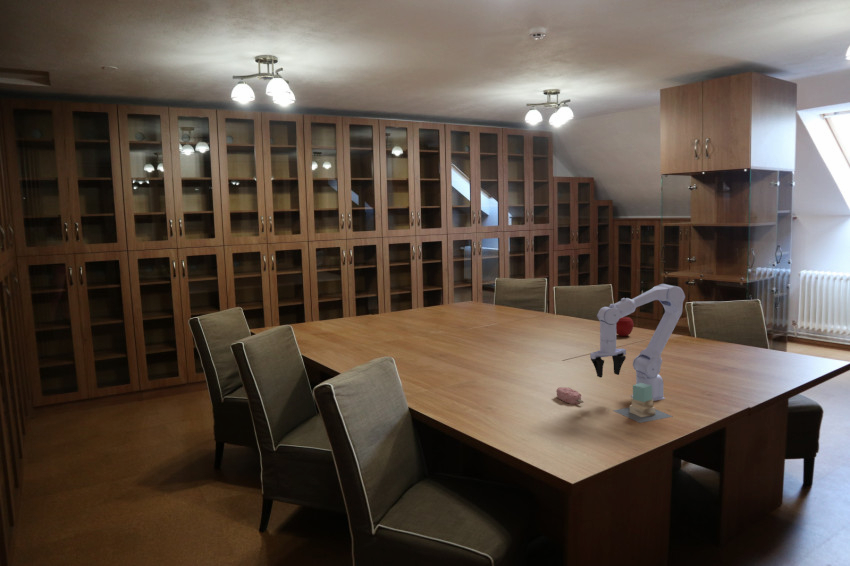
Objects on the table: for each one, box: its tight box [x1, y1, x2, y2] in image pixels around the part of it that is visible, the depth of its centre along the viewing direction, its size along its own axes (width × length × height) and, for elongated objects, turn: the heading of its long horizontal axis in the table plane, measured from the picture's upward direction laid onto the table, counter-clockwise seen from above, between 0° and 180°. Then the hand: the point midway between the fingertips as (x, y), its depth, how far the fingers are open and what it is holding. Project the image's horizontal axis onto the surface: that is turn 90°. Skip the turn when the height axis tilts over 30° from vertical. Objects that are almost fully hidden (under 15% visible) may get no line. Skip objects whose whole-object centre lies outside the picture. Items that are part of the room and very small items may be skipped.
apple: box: [616, 316, 634, 337], centre depth 333 cm, size 11×11×12 cm
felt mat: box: [612, 406, 673, 424], centre depth 206 cm, size 14×14×1 cm
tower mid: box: [631, 398, 654, 410], centre depth 206 cm, size 5×5×2 cm
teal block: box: [632, 383, 652, 402], centre depth 205 cm, size 4×4×5 cm
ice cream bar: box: [555, 386, 584, 405], centre depth 223 cm, size 6×4×15 cm
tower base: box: [629, 404, 656, 417], centre depth 206 cm, size 6×6×2 cm
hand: (608, 375), depth 219 cm, fingers open, 7 cm apart
